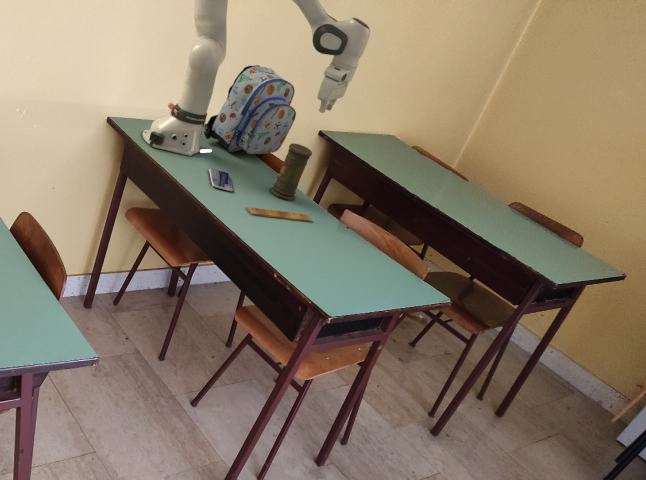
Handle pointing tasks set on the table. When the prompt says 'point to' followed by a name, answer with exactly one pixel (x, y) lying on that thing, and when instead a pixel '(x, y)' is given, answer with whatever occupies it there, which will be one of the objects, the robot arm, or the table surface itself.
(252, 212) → the ruler
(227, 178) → the mobile phone
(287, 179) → the container
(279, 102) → the backpack
